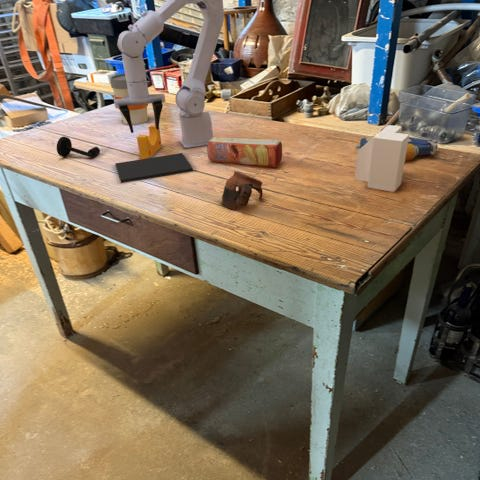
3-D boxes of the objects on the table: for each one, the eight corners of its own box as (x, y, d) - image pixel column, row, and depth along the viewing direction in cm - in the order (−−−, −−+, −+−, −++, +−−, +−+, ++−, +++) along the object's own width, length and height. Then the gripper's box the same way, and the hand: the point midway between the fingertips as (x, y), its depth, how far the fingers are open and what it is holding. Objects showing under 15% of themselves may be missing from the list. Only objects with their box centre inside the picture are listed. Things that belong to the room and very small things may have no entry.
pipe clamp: (149, 145, 151) (145, 125, 147) (161, 146, 150) (158, 125, 146) (135, 159, 142) (131, 137, 138) (148, 159, 141) (145, 137, 137)
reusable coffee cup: (149, 125, 170) (142, 79, 161) (115, 126, 170) (105, 81, 161) (154, 115, 180) (148, 71, 171) (122, 117, 180) (113, 73, 171)
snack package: (206, 163, 136) (204, 139, 132) (216, 155, 140) (214, 132, 136) (276, 170, 129) (276, 145, 124) (284, 162, 133) (284, 137, 129)
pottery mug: (215, 200, 116) (227, 167, 114) (250, 213, 119) (262, 181, 117) (223, 207, 105) (236, 171, 103) (261, 221, 108) (275, 186, 106)
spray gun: (418, 168, 124) (441, 153, 132) (420, 152, 121) (444, 137, 130) (348, 155, 135) (374, 142, 144) (349, 140, 133) (375, 128, 142)
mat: (182, 155, 142) (182, 152, 142) (193, 170, 132) (192, 168, 131) (115, 165, 138) (115, 163, 138) (121, 182, 127) (120, 179, 127)
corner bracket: (394, 192, 113) (402, 141, 106) (349, 184, 119) (354, 135, 111) (407, 176, 120) (415, 128, 113) (364, 169, 125) (370, 122, 118)
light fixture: (110, 155, 153) (87, 168, 143) (82, 146, 154) (57, 158, 145) (110, 136, 149) (86, 149, 139) (80, 128, 151) (55, 139, 141)
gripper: (159, 75, 138) (166, 123, 146) (109, 80, 135) (119, 130, 143) (163, 79, 133) (170, 129, 141) (111, 85, 130) (121, 136, 138)
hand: (144, 130), depth 142 cm, fingers open, 7 cm apart
